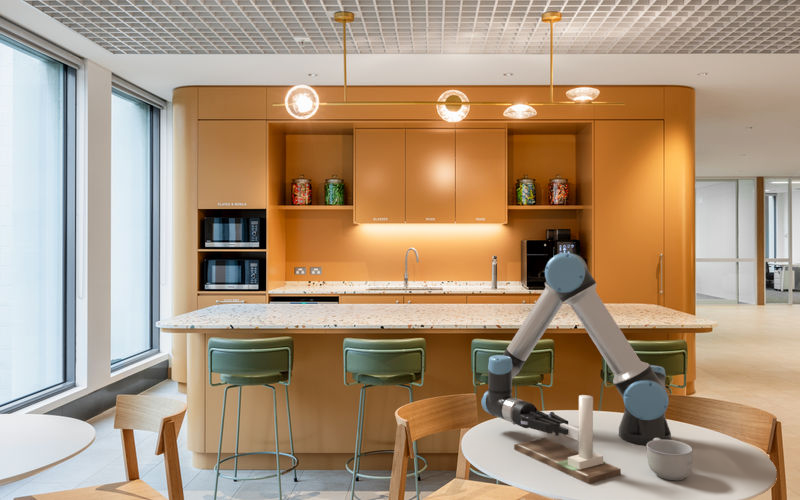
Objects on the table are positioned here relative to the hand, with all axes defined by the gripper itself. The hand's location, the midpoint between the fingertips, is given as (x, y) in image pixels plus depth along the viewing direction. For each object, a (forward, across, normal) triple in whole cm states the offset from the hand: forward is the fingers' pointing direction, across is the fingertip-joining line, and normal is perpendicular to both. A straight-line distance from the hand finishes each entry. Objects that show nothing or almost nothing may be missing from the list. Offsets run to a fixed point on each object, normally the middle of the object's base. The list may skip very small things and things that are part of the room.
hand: (579, 435), depth 151 cm
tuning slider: (+2, 0, -7) cm, 8 cm away
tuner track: (-6, 0, -9) cm, 11 cm away
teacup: (+14, -18, -9) cm, 24 cm away
